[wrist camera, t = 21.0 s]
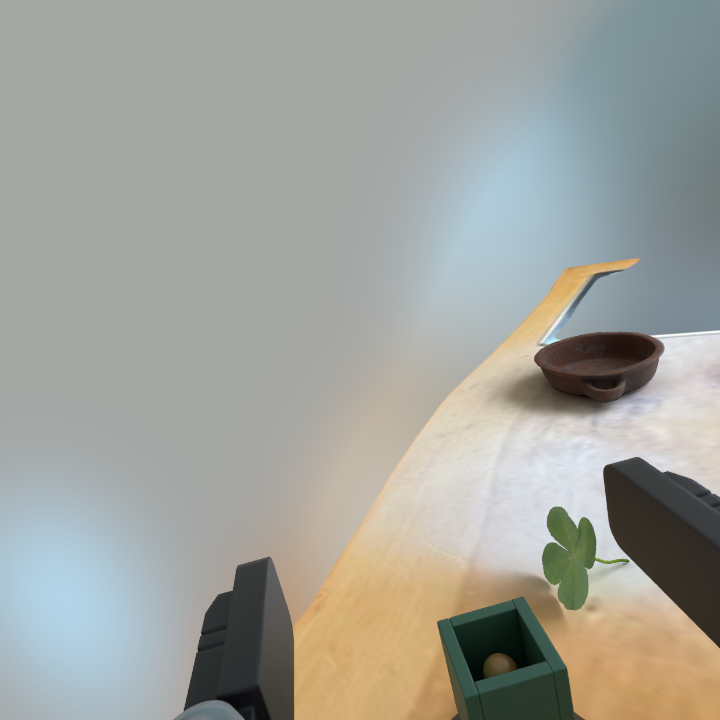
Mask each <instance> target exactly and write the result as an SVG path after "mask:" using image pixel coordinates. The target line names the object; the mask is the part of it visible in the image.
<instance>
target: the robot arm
mask: <svg viewBox="0 0 720 720" xmlns="http://www.w3.org/2000/svg"><path fill="white" fill-rule="evenodd" d="M603 476H604V485H605V493H606V502H607V510H608V519H609V525H610V529H611V532H612V534H613V536H614V539H615V540H616V542H617V544H618V545H619V547H620V548H621V549H622V550H623V551H624V552H625V553H626V554H627V555H628V556H629V557H630V558H631V559H632V560H633V561H634V562H635V563H636V564H637V565H638V566H639V567H640V568H641V569H642V570H643V571H644V572H645V573H646V574H647V575H648V576H649V577H650V578H651V579H652V580H653V581H654V582H655V583H656V584H657V585H658V586H659V587H660V588H661V589H662V590H663V592H664V593H665V594H666V595H667V596H668V597H669V598H670V599H671V600H672V601H673V602H674V603H675V604H676V605H677V606H678V607H679V608H680V609H681V610H682V611H683V612H684V613H685V614H686V615H687V616H688V617H689V618H690V619H691V620H692V621H693V622H694V623H695V624H696V625H697V626H698V627H699V628H700V629H701V630H702V631H703V632H704V633H705V634H706V635H707V636H708V637H709V638H710V639H711V640H712V641H713V642H714V643H715V644H716V645H717V646H718V647H719V648H720V497H719V496H717V495H715V494H711V492H710V491H709V490H708V489H706V488H705V487H703V486H702V485H700V484H699V483H697V482H695V481H694V480H692V479H690V478H687V477H684V476H681V475H678V474H675V473H672V472H669V471H667V472H663V473H662V472H660V471H659V470H657V469H656V468H655V467H653V466H652V465H650V464H649V463H647V462H646V461H644V460H643V459H641V458H639V457H635V458H631V459H627V460H624V461H620V462H616V463H613V464H609V465H606V466H605V468H604V471H603ZM201 634H202V636H201V637H200V640H199V644H198V652H197V653H196V658H195V663H194V667H193V672H192V677H191V680H190V685H189V689H188V694H187V699H186V703H185V707H184V712H183V713H181V714H180V715H179V716H177V717H176V718H175V719H174V720H294V636H293V628H292V622H291V618H290V614H289V610H288V607H287V604H286V601H285V598H284V595H283V591H282V589H281V586H280V582H279V579H278V576H277V573H276V570H275V567H274V564H273V561H272V559H271V558H270V557H267V558H263V559H260V560H256V561H252V562H248V563H245V564H241V565H238V566H237V569H236V575H235V581H234V587H233V591H230V592H226V593H222V594H219V595H218V596H217V597H216V599H215V600H214V602H213V603H212V605H211V606H210V607H209V609H208V610H207V612H206V613H205V618H204V622H203V626H202V631H201Z"/></svg>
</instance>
